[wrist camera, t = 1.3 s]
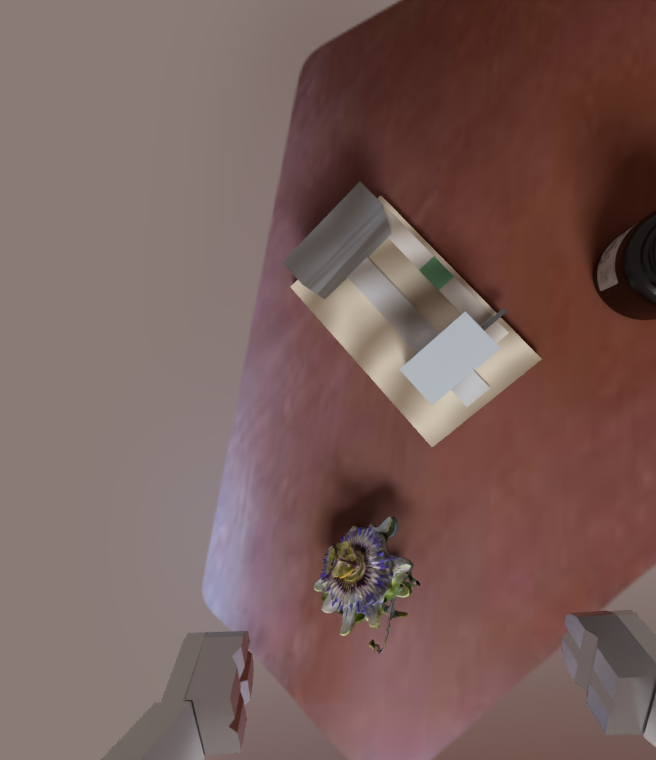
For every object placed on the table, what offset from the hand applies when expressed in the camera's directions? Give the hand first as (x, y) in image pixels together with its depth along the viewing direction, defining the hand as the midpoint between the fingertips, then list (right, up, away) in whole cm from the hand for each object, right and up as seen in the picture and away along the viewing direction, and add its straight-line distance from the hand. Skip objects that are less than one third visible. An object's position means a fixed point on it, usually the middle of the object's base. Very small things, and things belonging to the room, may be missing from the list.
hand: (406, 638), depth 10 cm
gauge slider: (+11, +10, +30) cm, 34 cm away
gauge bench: (+7, +13, +33) cm, 37 cm away
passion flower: (+4, -14, +35) cm, 38 cm away
